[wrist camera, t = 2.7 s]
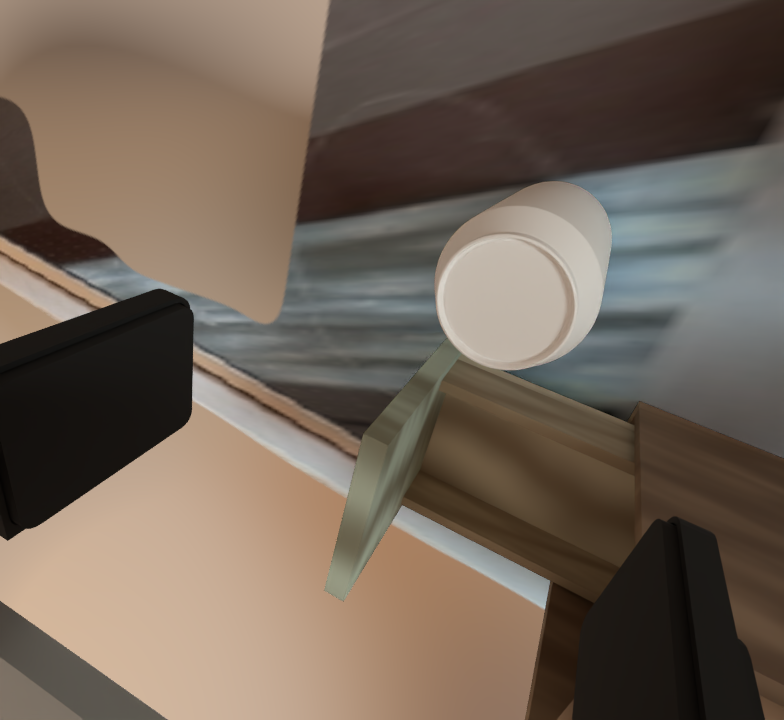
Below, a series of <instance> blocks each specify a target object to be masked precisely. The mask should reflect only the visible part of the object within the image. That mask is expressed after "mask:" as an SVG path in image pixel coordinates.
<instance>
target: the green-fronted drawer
mask: <svg viewBox="0 0 784 720" xmlns="http://www.w3.org/2000/svg"><path fill="white" fill-rule="evenodd" d="M402 505H403V506H405V507H407V508H409V509H411V510H413V511H415V512H417V513H419V514H421V515H423V516H425V517H427V518H429V519H431V520H433V521H435V522H437V523H439V524H441V525H443V526H445V527H446V528H448V529H450V530H452V531H454V532H456V533H458V534H460V535H462V536H464V537H466V538H468V539H470V540H472V541H474V542H476V543H478V544H480V545H482V546H484V547H486V548H488V549H489V550H491V551H493V552H495V553H497V554H499V555H501V556H503V557H505V558H507V559H509V560H511V561H513V562H515V563H517V564H519V565H521V566H523V567H525V568H527V569H529V570H531V571H533V572H534V573H536V574H538V575H540V576H542V577H544V578H546V579H548V580H550V581H552V582H554V583H556V584H558V585H560V586H562V587H564V588H566V589H568V590H570V591H572V592H574V593H576V594H577V595H579V596H581V597H583V598H585V599H587V600H589V601H591V602H593V603H595V602H596V600H597V599H598V598H599V596H600V595H601V593H602V592H603V591H604V589H605V588H606V586H607V585H608V584H609V582H610V581H611V580H612V578H613V577H614V575H615V574H616V573H617V571H618V570H619V568H620V567H621V566H622V564H623V563H624V561H625V560H626V559H627V557H628V556H629V555H630V553H631V552H632V550H633V549H634V548H635V425H632V424H630V423H628V422H625V421H623V420H620V419H618V418H616V417H613V416H611V415H608V414H606V413H603V412H601V411H599V410H596V409H594V408H591V407H589V406H586V405H584V404H582V403H579V402H577V401H574V400H572V399H569V398H567V397H565V396H562V395H560V394H557V393H555V392H553V391H550V390H548V389H545V388H543V387H540V386H538V385H536V384H533V383H531V382H528V381H526V380H523V379H521V378H519V377H516V376H514V375H511V374H509V373H506V372H504V371H502V370H499V369H493V368H489V367H486V366H483V365H481V364H478V363H476V362H474V361H473V360H471V359H469V358H468V357H466V356H465V355H463V354H462V353H461V352H460V351H459V350H458V349H457V348H456V347H455V346H454V345H453V344H452V343H451V342H450V340H449V339H448V338H446V339H445V341H444V342H443V343H442V344H441V345H440V346H439V348H438V349H437V350H436V351H435V352H434V353H433V354H432V356H431V357H430V358H429V359H428V360H427V361H426V362H425V364H424V365H423V366H422V367H421V368H420V369H419V370H418V372H417V373H416V374H415V375H414V376H413V377H412V378H411V380H410V381H409V382H408V383H407V384H406V385H405V386H404V388H403V389H402V390H401V391H400V392H399V393H398V394H397V396H396V397H395V398H394V399H393V400H392V401H391V403H390V404H389V405H388V406H387V407H386V408H385V409H384V411H383V412H382V413H381V414H380V415H379V416H378V417H377V419H376V420H375V421H374V422H373V423H372V424H371V425H370V427H369V428H368V429H367V430H366V431H365V432H364V433H363V437H362V441H361V445H360V449H359V453H358V457H357V461H356V465H355V469H354V473H353V477H352V481H351V485H350V489H349V493H348V497H347V502H346V506H345V509H344V513H343V518H342V521H341V525H340V529H339V533H338V537H337V541H336V546H335V549H334V554H333V558H332V561H331V566H330V569H329V573H328V577H327V581H326V586H325V591H326V592H328V593H330V594H331V595H333V596H335V597H336V598H338V599H340V600H342V601H344V600H345V598H346V596H347V595H348V593H349V592H350V590H351V588H352V587H353V585H354V583H355V582H356V580H357V578H358V577H359V575H360V573H361V572H362V570H363V569H364V567H365V565H366V564H367V562H368V560H369V559H370V557H371V555H372V554H373V552H374V550H375V549H376V547H377V545H378V544H379V542H380V541H381V539H382V537H383V536H384V534H385V532H386V531H387V529H388V527H389V525H390V524H391V522H392V521H393V519H394V518H395V516H396V514H397V513H398V511H399V509H400V508H401V506H402Z"/></svg>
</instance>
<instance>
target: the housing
mask: <svg viewBox="0 0 784 720" xmlns="http://www.w3.org/2000/svg"><path fill="white" fill-rule="evenodd" d="M627 422H628V423H630V424H632V425H635V546H636V545H637V543H638V542H639V541H640V539H641V538H642V537H643V535H644V534H645V532H646V531H647V530H648V528H649V527H650V525H651V524H652V523H653V522H654V521H655V520H656V519H661V520H664V521H666V522H667V521H668V520H669V519H670V518H671V517H673V516H677V517H679V518H681V519H684V520H686V521H688V522H690V523H693V524H695V525H697V526H699V527H702V528H704V529H706V530H708V531H711V532H712V533H714V534H715V536H716V539H717V543H718V548H719V552H720V557H721V562H722V566H723V571H724V576H725V580H726V585H727V590H728V594H729V599H730V604H731V608H732V613H733V618H734V622H735V627H736V632H737V636H738V639H740V640H741V641H742V642H743V643H744V644H745V645H746V647H747V649H748V652H749V654H750V657H751V660H752V665H753V669H754V674H755V678H756V682H757V687H758V691H759V695H760V700H761V704H762V708H763V713H764V717H765V720H784V459H783V458H781V457H778V456H776V455H773V454H771V453H768V452H766V451H763V450H761V449H758V448H756V447H753V446H751V445H748V444H746V443H743V442H741V441H738V440H736V439H733V438H731V437H728V436H726V435H723V434H721V433H718V432H716V431H713V430H711V429H708V428H706V427H703V426H701V425H698V424H696V423H693V422H691V421H688V420H686V419H683V418H681V417H678V416H676V415H673V414H671V413H668V412H666V411H663V410H661V409H658V408H656V407H653V406H651V405H648V404H646V403H643V402H641V401H639V402H638V404H637V406H636V407H635V409H634V411H633V413H632V414H631V416H630V418H629V419H628V421H627ZM593 604H594V603H593V602H591V601H589V600H587V599H585V598H583V597H581V596H579V595H577V594H576V593H574V592H572V591H570V590H568V589H566V588H564V587H562V586H560V585H558V584H556V583H554V582H552V581H550V586H549V591H548V597H547V602H546V608H545V613H544V619H543V624H542V630H541V635H540V641H539V646H538V651H537V657H536V662H535V668H534V673H533V679H532V685H531V690H530V695H529V701H528V706H527V712H526V717H525V720H572V713H573V702H574V692H575V681H576V670H577V660H578V649H579V638H580V631H581V627H582V624H583V621H584V619H585V616H586V615H587V613H588V611H589V610H590V609H591V607H592V606H593Z"/></svg>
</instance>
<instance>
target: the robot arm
mask: <svg viewBox="0 0 784 720" xmlns="http://www.w3.org/2000/svg"><path fill="white" fill-rule="evenodd" d="M193 327H194V316H193V312H192V310H191V309H190V305H189V303H188V301H187V300H185V299H184V298H182V297H180V296H177V295H175V294H173V293H171V292H168V291H166V290H163V289H155V290H152V291H149V292H146V293H143V294H141V295H138V296H135V297H132V298H129V299H126V300H124V301H121V302H118V303H115V304H112V305H109V306H107V307H104V308H101V309H98V310H95V311H92V312H90V313H87V314H84V315H81V316H78V317H75V318H73V319H70V320H67V321H64V322H61V323H58V324H56V325H53V326H50V327H47V328H45V329H42V330H39V331H36V332H33V333H30V334H27V335H24V336H22V337H19V338H16V339H13V340H10V341H7V342H5V343H2V344H0V536H2V537H3V538H4V539H6V540H7V541H8V540H10V539H11V538H13V537H14V536H16V535H17V534H18V533H20V532H21V531H23V530H24V529H30V528H33V527H36V526H38V525H40V524H41V523H43V522H44V521H46V520H47V519H49V518H50V517H52V516H53V515H55V514H56V513H58V512H59V511H61V510H62V509H63V508H65V507H66V506H68V505H69V504H71V503H72V502H74V501H75V500H76V499H78V498H80V497H81V496H82V495H84V494H85V493H87V492H88V491H90V490H91V489H93V488H94V487H96V486H97V485H98V484H100V483H101V482H103V481H104V480H106V479H107V478H109V477H110V476H112V475H113V474H115V473H116V472H118V471H119V470H120V469H122V468H123V467H125V466H126V465H128V464H129V463H131V462H132V461H134V460H135V459H137V458H138V457H140V456H141V455H142V454H144V453H145V452H147V451H148V450H150V449H151V448H153V447H154V446H156V445H157V444H159V443H160V442H161V441H163V440H164V439H166V438H167V437H169V436H170V435H172V434H173V433H175V432H176V431H178V430H179V429H180V428H182V427H183V426H184V425H185V424H186V423H187V422H188V420H189V418H190V416H191V412H192V375H193ZM0 720H167V719H166V718H164V717H163V716H162V715H160V714H159V713H158V712H156V711H155V710H153V709H152V708H150V707H149V706H148V705H146V704H145V703H143V702H142V701H141V700H139V699H138V698H136V697H135V696H134V695H132V694H131V693H129V692H128V691H126V690H125V689H124V688H122V687H121V686H119V685H118V684H117V683H115V682H114V681H112V680H111V679H109V678H108V677H107V676H105V675H104V674H103V673H101V672H100V671H98V670H97V669H96V668H94V667H93V666H91V665H90V664H89V663H87V662H86V661H84V660H83V659H81V658H80V657H79V656H77V655H76V654H74V653H73V652H72V651H70V650H69V649H67V648H66V647H64V646H63V645H62V644H60V643H59V642H57V641H56V640H55V639H53V638H51V637H50V636H49V635H48V634H46V633H45V632H43V631H42V630H41V629H39V628H38V627H36V626H35V625H33V624H32V623H31V622H29V621H28V620H26V619H25V618H24V617H22V616H21V615H19V614H18V613H16V612H15V611H13V610H12V609H11V608H9V607H8V606H7V605H5V604H4V603H2V602H1V601H0ZM572 720H765V717H764V713H763V708H762V704H761V700H760V695H759V691H758V687H757V682H756V678H755V674H754V669H753V665H752V660H751V657H750V654H749V652H748V649H747V647H746V645H745V644H744V643H743V642H742V641H741V640H740V639H738V636H737V632H736V627H735V622H734V618H733V613H732V608H731V604H730V599H729V594H728V590H727V585H726V580H725V576H724V571H723V566H722V562H721V557H720V552H719V548H718V543H717V539H716V536H715V534H714V533H712V532H711V531H708V530H706V529H704V528H702V527H699V526H697V525H695V524H693V523H690V522H688V521H686V520H684V519H681V518H679V517H677V516H673V517H671V518H670V519H669V520H668V521H667V522H666V521H664V520H661V519H656V520H655V521H654V522H653V523H652V524H651V525H650V527H649V528H648V530H647V531H646V532H645V534H644V535H643V537H642V538H641V539H640V541H639V542H638V543H637V545H636V546H635V548H634V549H633V550H632V552H631V553H630V555H629V556H628V557H627V559H626V560H625V561H624V563H623V564H622V566H621V567H620V568H619V570H618V571H617V573H616V574H615V575H614V577H613V578H612V580H611V581H610V582H609V584H608V585H607V586H606V588H605V589H604V591H603V592H602V593H601V595H600V596H599V598H598V599H597V600H596V602H595V603H594V604H593V606H592V607H591V609H590V610H589V611H588V613H587V615H586V616H585V619H584V621H583V624H582V627H581V631H580V638H579V649H578V660H577V670H576V681H575V692H574V702H573V713H572Z"/></svg>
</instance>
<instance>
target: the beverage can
mask: <svg viewBox="0 0 784 720" xmlns="http://www.w3.org/2000/svg"><path fill="white" fill-rule="evenodd" d="M611 245H612V232H611V225H610V221H609V218H608V216H607V214H606V212H605V210H604V208H603V207H602V205H601V204H600V202H599V201H598V200H597V199H596V198H595V197H594V196H593V195H592V194H590V193H589V192H588V191H586V190H585V189H583V188H581V187H579V186H576V185H574V184H571V183H567V182H560V181H548V182H541V183H537V184H534V185H531V186H528V187H526V188H524V189H522V190H520V191H518V192H516V193H515V194H513V195H511V196H509V197H507V198H506V199H504V200H502V201H501V202H499V203H497V204H495V205H494V206H492V207H490V208H489V209H487V210H485V211H483V212H482V213H480V214H478V215H477V216H475V217H473V218H472V219H470V220H469V221H467V222H466V223H465V224H463V225H462V226H461V227H460V228H459V229H458V230H457V231H456V232H455V233H454V234H453V235H452V237H451V238H450V239H449V241H448V242H447V244H446V245H445V247H444V249H443V251H442V253H441V255H440V258H439V260H438V264H437V268H436V273H435V297H436V310H437V315H438V319H439V322H440V324H441V327H442V329H443V331H444V333H445V334H446V336H447V338H448V339H449V340H450V342H451V343H452V344H453V345H454V346H455V347H456V348H457V349H458V350H459V351H460V352H461V353H462V354H463V355H465V356H466V357H468V358H469V359H471V360H473V361H474V362H476V363H478V364H481V365H483V366H486V367H489V368H493V369H499V370H520V369H526V368H529V367H533V366H538V365H542V364H545V363H548V362H551V361H554V360H556V359H558V358H560V357H562V356H564V355H565V354H567V353H568V352H570V351H571V350H572V349H574V348H575V347H576V346H577V345H578V344H579V343H580V342H581V341H582V340H583V339H584V338H585V337H586V335H587V334H588V333H589V331H590V330H591V328H592V326H593V324H594V323H595V320H596V318H597V316H598V313H599V310H600V306H601V302H602V297H603V292H604V286H605V281H606V275H607V270H608V264H609V259H610V253H611Z"/></svg>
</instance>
